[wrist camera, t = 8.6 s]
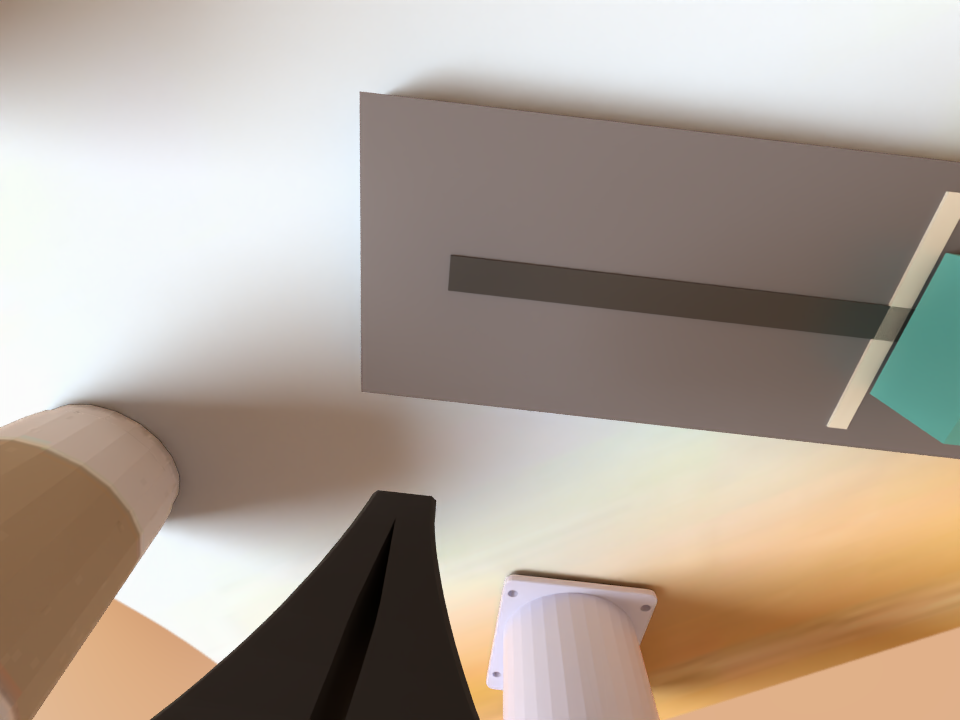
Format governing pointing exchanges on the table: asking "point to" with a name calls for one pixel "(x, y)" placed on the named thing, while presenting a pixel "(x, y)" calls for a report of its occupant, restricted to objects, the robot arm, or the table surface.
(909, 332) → the fader tab
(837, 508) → the table surface
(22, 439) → the coffee cup
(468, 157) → the fader console
